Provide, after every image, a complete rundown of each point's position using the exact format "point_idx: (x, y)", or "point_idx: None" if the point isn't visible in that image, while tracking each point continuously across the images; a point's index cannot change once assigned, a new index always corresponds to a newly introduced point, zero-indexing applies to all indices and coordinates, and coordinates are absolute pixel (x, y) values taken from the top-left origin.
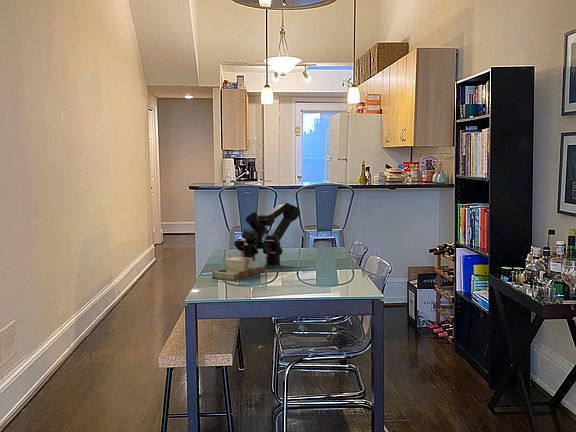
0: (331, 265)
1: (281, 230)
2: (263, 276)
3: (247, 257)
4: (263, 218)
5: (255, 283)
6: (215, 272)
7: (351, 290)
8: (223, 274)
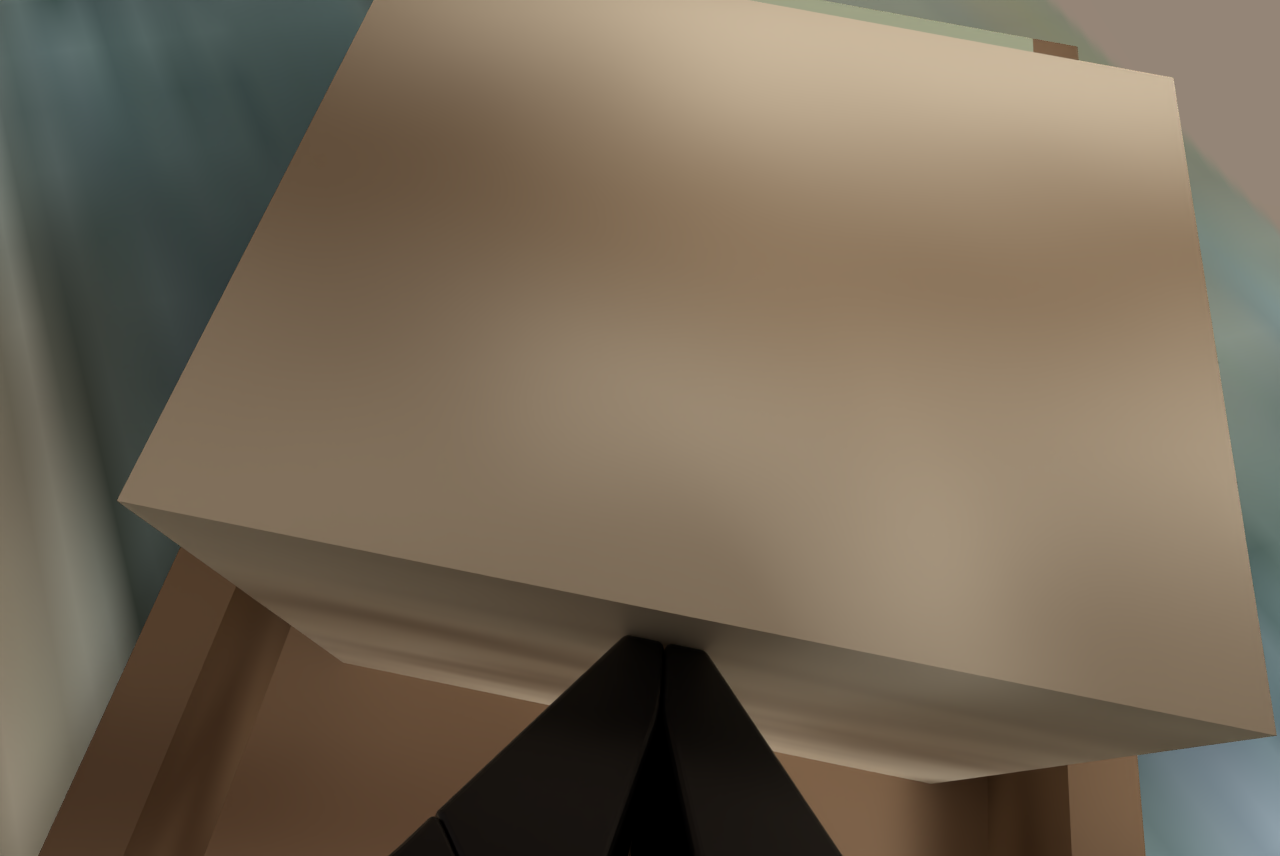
0: None
1: None
2: (17, 611)
3: (437, 553)
4: None
5: (87, 39)
6: (990, 40)
7: None
8: None
